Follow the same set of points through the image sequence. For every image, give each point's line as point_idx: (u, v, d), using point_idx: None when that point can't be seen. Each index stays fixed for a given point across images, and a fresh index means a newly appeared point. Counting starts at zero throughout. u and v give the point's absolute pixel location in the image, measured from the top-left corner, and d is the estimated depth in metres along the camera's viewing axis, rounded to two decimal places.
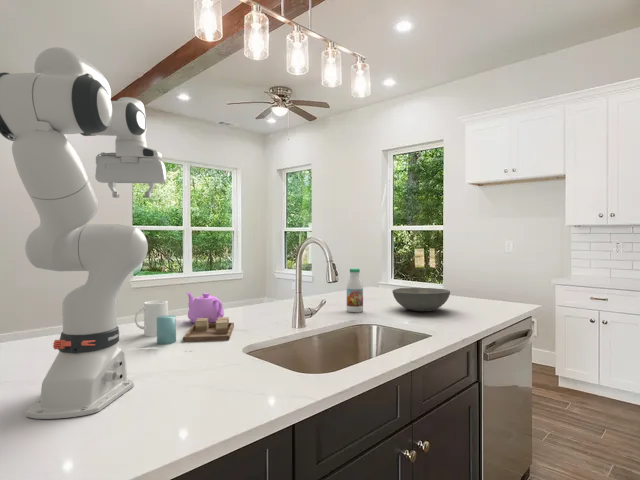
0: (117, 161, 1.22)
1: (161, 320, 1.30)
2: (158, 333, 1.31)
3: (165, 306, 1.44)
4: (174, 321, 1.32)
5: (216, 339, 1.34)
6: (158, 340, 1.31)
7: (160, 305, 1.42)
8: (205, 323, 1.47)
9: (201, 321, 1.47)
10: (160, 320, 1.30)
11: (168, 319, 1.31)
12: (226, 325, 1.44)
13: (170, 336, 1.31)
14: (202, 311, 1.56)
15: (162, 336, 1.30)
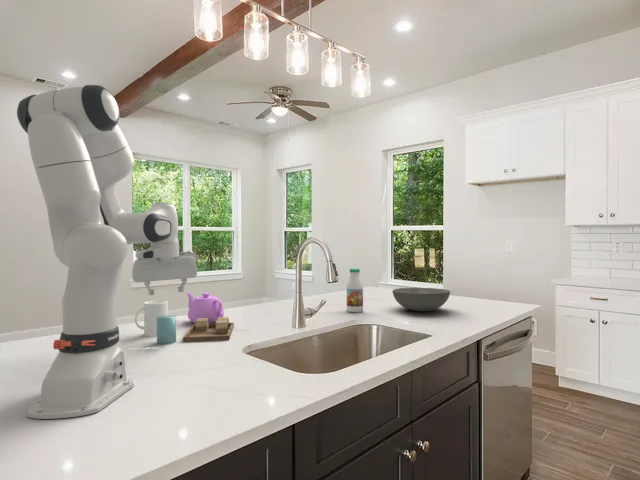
0: None
1: (161, 320, 1.30)
2: (158, 333, 1.31)
3: (165, 306, 1.44)
4: (174, 321, 1.32)
5: (216, 339, 1.34)
6: (158, 340, 1.31)
7: (160, 305, 1.42)
8: (205, 323, 1.47)
9: (201, 321, 1.47)
10: (160, 320, 1.30)
11: (168, 319, 1.31)
12: (226, 325, 1.44)
13: (170, 336, 1.31)
14: (202, 311, 1.56)
15: (162, 336, 1.30)
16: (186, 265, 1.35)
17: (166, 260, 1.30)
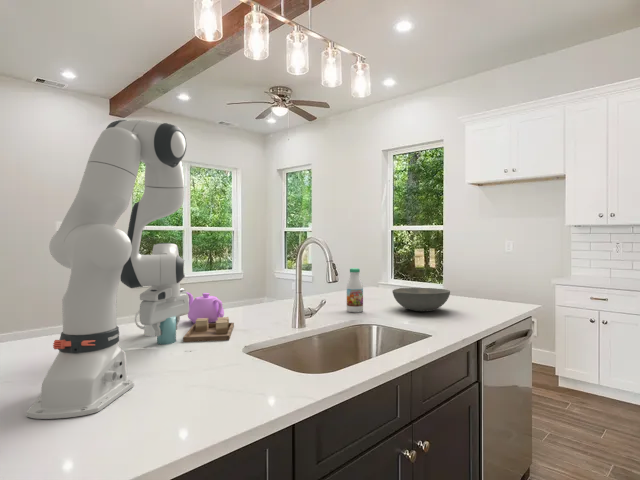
0: None
1: None
2: None
3: None
4: (174, 321, 1.32)
5: (216, 339, 1.34)
6: (158, 340, 1.31)
7: None
8: (205, 323, 1.47)
9: (201, 321, 1.47)
10: None
11: (168, 319, 1.31)
12: (226, 325, 1.44)
13: (170, 336, 1.31)
14: (202, 311, 1.56)
15: (162, 336, 1.30)
16: (182, 303, 1.39)
17: (173, 300, 1.31)
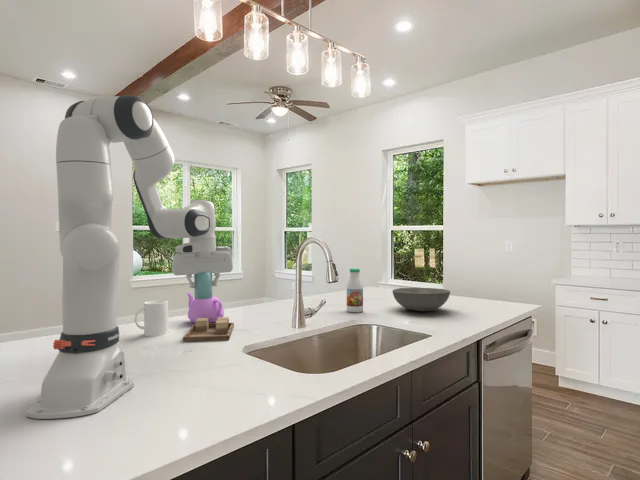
0: None
1: (194, 274, 1.36)
2: None
3: (165, 306, 1.44)
4: (206, 276, 1.36)
5: (216, 339, 1.34)
6: (194, 293, 1.38)
7: (160, 305, 1.42)
8: (205, 323, 1.47)
9: (201, 321, 1.47)
10: (194, 274, 1.36)
11: (199, 273, 1.35)
12: (226, 325, 1.44)
13: (201, 290, 1.35)
14: (202, 311, 1.56)
15: (195, 289, 1.36)
16: (222, 260, 1.40)
17: (204, 255, 1.35)
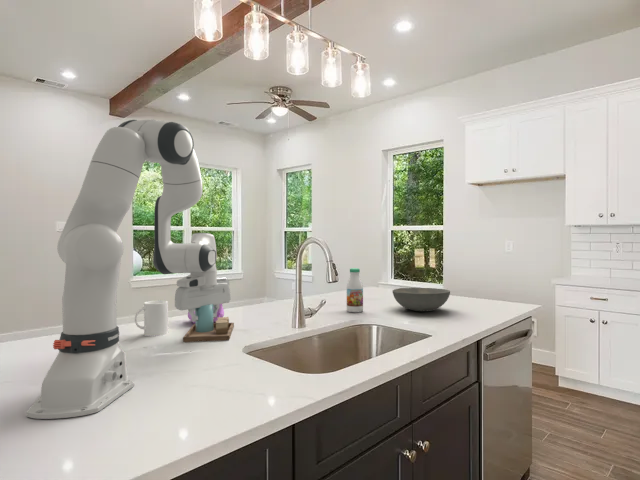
0: None
1: None
2: None
3: (165, 306, 1.44)
4: (210, 309, 1.37)
5: (216, 339, 1.34)
6: None
7: (160, 305, 1.42)
8: None
9: None
10: None
11: (203, 306, 1.35)
12: (226, 325, 1.44)
13: (205, 323, 1.36)
14: None
15: (198, 322, 1.36)
16: (222, 291, 1.42)
17: (208, 287, 1.36)
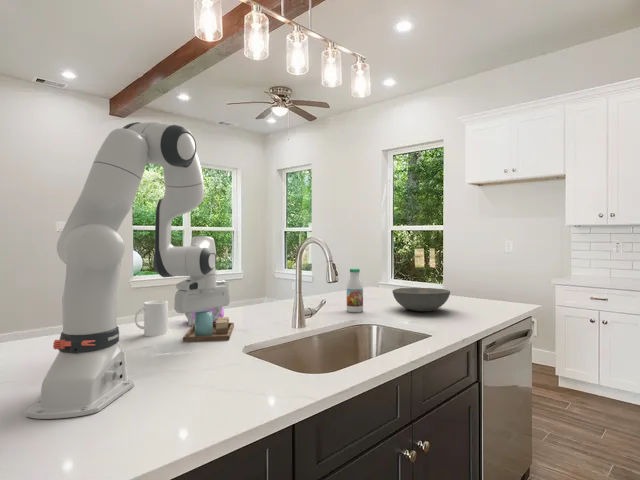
0: None
1: (197, 315, 1.36)
2: (195, 326, 1.37)
3: (165, 306, 1.44)
4: (209, 316, 1.37)
5: (216, 339, 1.34)
6: (195, 333, 1.37)
7: (160, 305, 1.42)
8: None
9: None
10: (196, 315, 1.36)
11: (203, 314, 1.35)
12: (226, 325, 1.44)
13: (204, 331, 1.36)
14: None
15: (197, 329, 1.36)
16: (221, 294, 1.42)
17: (207, 290, 1.36)
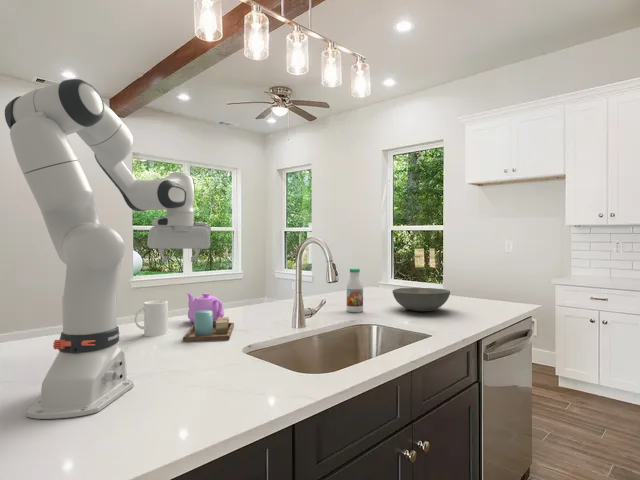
0: None
1: (197, 315, 1.36)
2: (195, 326, 1.37)
3: (165, 306, 1.44)
4: (209, 316, 1.37)
5: (216, 339, 1.34)
6: (195, 333, 1.37)
7: (160, 305, 1.42)
8: None
9: None
10: (196, 315, 1.36)
11: (203, 314, 1.35)
12: (226, 325, 1.44)
13: (204, 331, 1.36)
14: None
15: (197, 329, 1.36)
16: (200, 236, 1.37)
17: (180, 228, 1.33)
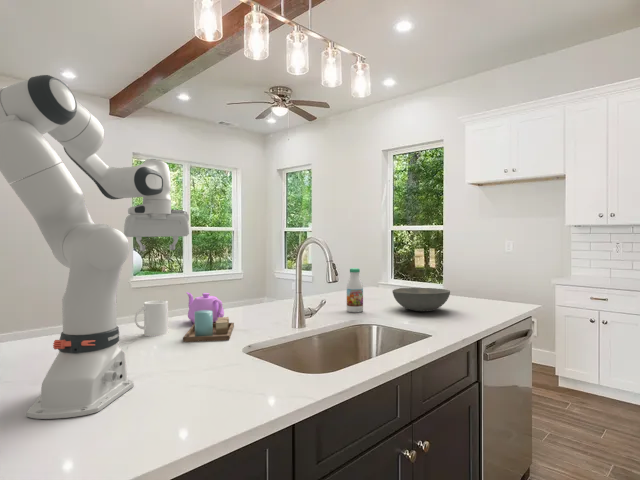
0: None
1: (197, 315, 1.36)
2: (195, 326, 1.37)
3: (165, 306, 1.44)
4: (209, 316, 1.37)
5: (216, 339, 1.34)
6: (195, 333, 1.37)
7: (160, 305, 1.42)
8: None
9: None
10: (196, 315, 1.36)
11: (203, 314, 1.35)
12: (226, 325, 1.44)
13: (204, 331, 1.36)
14: None
15: (197, 329, 1.36)
16: (178, 223, 1.36)
17: (158, 216, 1.31)
